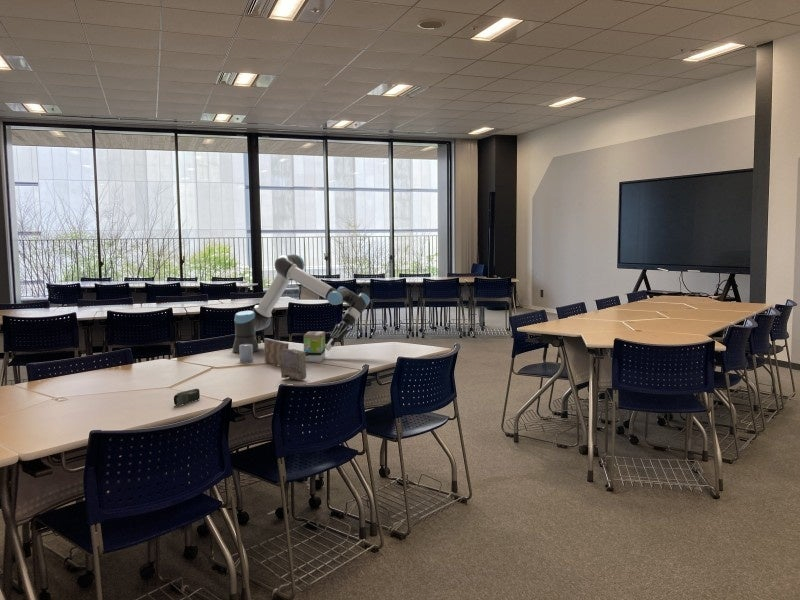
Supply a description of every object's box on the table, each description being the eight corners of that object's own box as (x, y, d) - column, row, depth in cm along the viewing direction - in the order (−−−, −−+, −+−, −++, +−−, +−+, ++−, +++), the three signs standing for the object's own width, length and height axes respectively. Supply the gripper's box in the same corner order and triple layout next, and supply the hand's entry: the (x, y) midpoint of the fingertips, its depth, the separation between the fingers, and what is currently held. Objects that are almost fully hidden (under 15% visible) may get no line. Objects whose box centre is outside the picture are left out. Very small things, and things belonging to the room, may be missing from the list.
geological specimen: (306, 379, 293) (306, 348, 292) (298, 382, 288) (298, 350, 286) (288, 377, 298) (287, 346, 297) (280, 380, 293) (279, 348, 291)
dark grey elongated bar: (195, 387, 259) (169, 394, 245) (201, 388, 258) (176, 395, 244) (195, 399, 260) (170, 407, 246) (201, 399, 259) (176, 408, 245)
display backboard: (264, 361, 338) (263, 338, 337) (267, 361, 339) (266, 338, 338) (286, 368, 320) (285, 343, 319) (289, 368, 321) (288, 343, 320)
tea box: (321, 362, 337) (321, 334, 335) (303, 362, 337) (302, 334, 336) (325, 356, 352) (325, 330, 350) (307, 356, 352) (307, 330, 351)
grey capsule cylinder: (237, 361, 341) (237, 344, 340) (249, 359, 345) (249, 343, 344) (243, 363, 335) (242, 346, 334) (255, 361, 340) (254, 345, 339)
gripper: (361, 322, 354) (337, 354, 345) (348, 319, 364) (324, 351, 355) (353, 313, 350) (329, 346, 341) (340, 311, 360) (316, 343, 351)
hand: (326, 349), depth 348 cm, fingers closed
